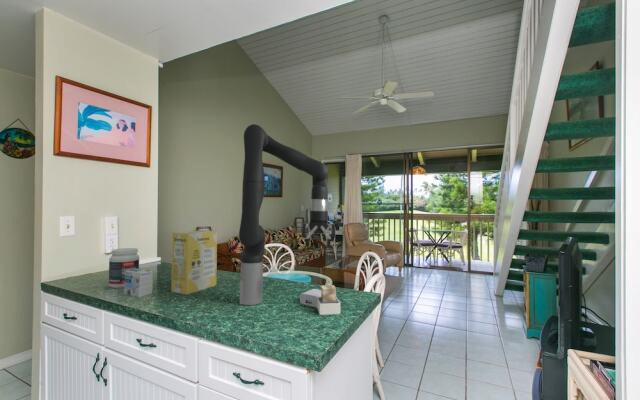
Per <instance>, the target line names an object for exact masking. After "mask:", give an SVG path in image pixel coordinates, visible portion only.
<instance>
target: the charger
mask: <svg viewBox="0 0 640 400" xmlns="http://www.w3.org/2000/svg"><path fill="white" fill-rule="evenodd" d="M318 297H321V289H316V288H312V289H309V290H307V291H304V292H302V293H300V294H299V303H300V305H303V306H304V305H305V306H309V307H313V308H317V298H318Z"/></svg>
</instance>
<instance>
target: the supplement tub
mask: <svg viewBox="0 0 640 400" xmlns="http://www.w3.org/2000/svg"><path fill="white" fill-rule="evenodd" d="M138 252H139V249H138V248H135V247H124V248H123V247H122V248H115V249H112V250H111V251H110V254H111V256H110V257H109V259H108V260H109V261H108V286H109V287H110V288H113V289H124V282H125V271H128V270H133V269H140V255H139V254H138Z"/></svg>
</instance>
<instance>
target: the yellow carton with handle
mask: <svg viewBox="0 0 640 400" xmlns="http://www.w3.org/2000/svg"><path fill="white" fill-rule="evenodd" d="M171 238H172V239H171V241H172V244H171V287H170V288H171V293H177V294H182V295H190V294H193V293H196V292H199V291H203V290H206V289H208V288H209V289H210V288H212V287H215V285H216V286H217V272H218V271H217V262H218V254H217V253H218V230H217V231H216V230H203V229H202V230H192V231H190V230H189V231H179V232H172V237H171Z"/></svg>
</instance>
